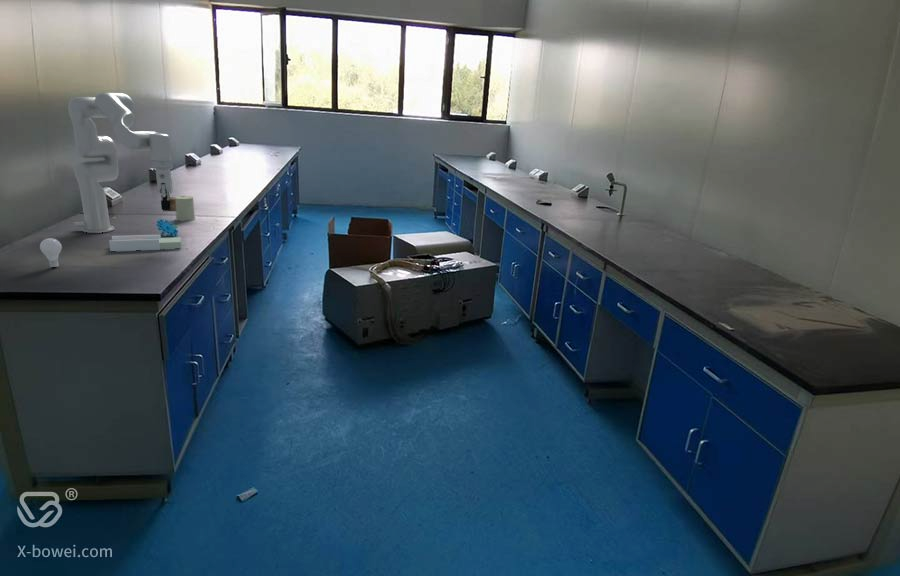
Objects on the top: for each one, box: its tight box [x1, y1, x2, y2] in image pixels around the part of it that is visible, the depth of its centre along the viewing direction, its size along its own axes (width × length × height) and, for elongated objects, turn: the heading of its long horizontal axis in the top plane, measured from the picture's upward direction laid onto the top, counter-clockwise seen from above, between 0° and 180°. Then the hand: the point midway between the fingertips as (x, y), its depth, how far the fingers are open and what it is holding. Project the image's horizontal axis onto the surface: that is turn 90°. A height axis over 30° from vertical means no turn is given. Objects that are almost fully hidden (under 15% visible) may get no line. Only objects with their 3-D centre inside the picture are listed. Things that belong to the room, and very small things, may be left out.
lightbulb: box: [39, 237, 63, 268], centre depth 195 cm, size 6×6×11 cm
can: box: [175, 195, 196, 222], centre depth 281 cm, size 9×9×12 cm
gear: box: [156, 218, 179, 238], centre depth 249 cm, size 11×6×10 cm
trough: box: [108, 234, 183, 252], centre depth 228 cm, size 26×9×4 cm, turn 113°
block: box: [162, 196, 177, 212], centre depth 227 cm, size 5×5×5 cm
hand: (166, 208), depth 227 cm, fingers closed on block, 4 cm apart
